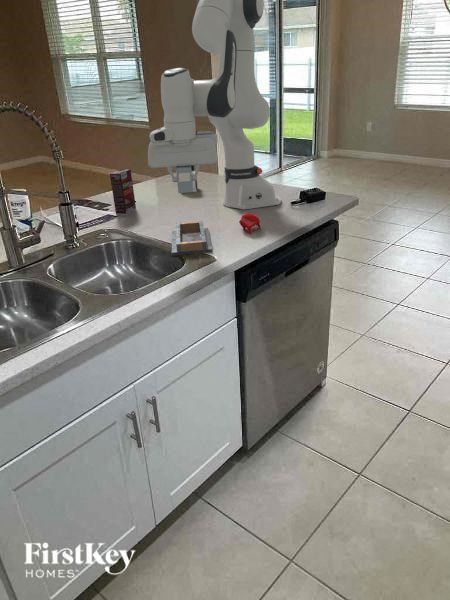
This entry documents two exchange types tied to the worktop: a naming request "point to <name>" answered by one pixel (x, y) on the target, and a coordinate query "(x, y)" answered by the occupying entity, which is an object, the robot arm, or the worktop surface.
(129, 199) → the supplement box
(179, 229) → the grey tray
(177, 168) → the block
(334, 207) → the worktop surface
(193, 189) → the medicine bottle
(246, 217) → the red toy chair
